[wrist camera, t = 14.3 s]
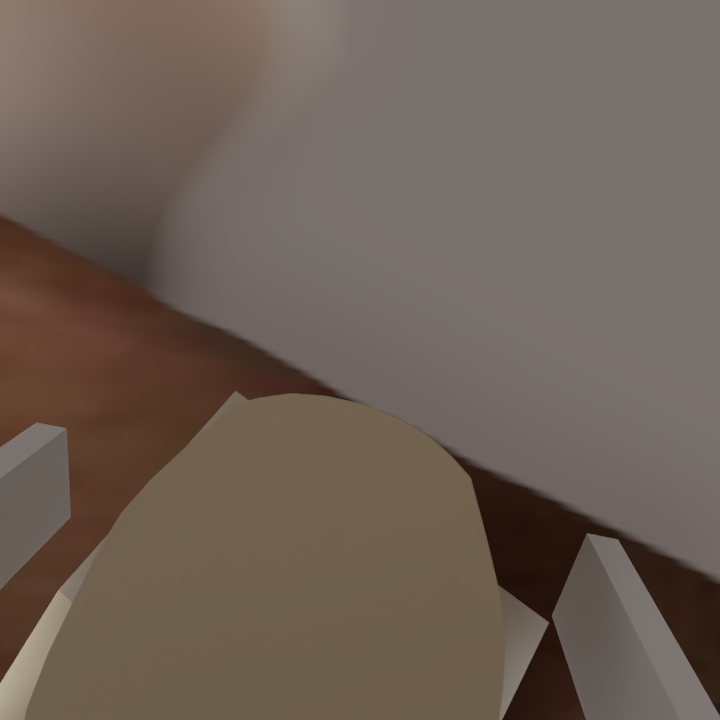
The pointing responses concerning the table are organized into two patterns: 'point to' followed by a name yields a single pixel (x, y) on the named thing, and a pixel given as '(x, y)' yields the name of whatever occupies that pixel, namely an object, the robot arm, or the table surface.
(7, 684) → the ramp bench
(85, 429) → the table surface
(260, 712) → the handle
